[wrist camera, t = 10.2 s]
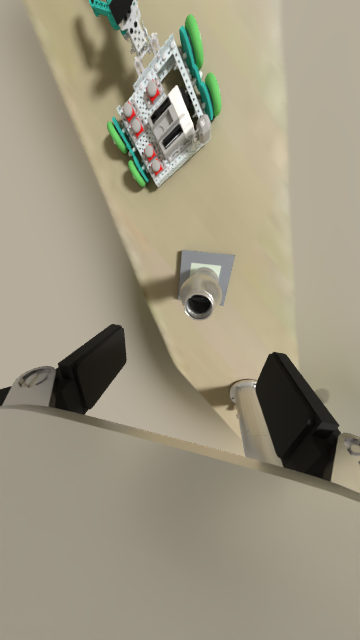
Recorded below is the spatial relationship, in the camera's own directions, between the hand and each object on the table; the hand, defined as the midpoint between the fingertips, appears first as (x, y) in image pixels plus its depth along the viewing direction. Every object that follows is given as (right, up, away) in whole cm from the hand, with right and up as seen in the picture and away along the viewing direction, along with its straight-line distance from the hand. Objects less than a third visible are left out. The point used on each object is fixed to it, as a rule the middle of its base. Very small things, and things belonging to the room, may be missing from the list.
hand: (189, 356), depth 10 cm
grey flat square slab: (+5, +13, +28) cm, 31 cm away
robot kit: (-6, +42, +17) cm, 46 cm away
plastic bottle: (+5, +12, +27) cm, 30 cm away
